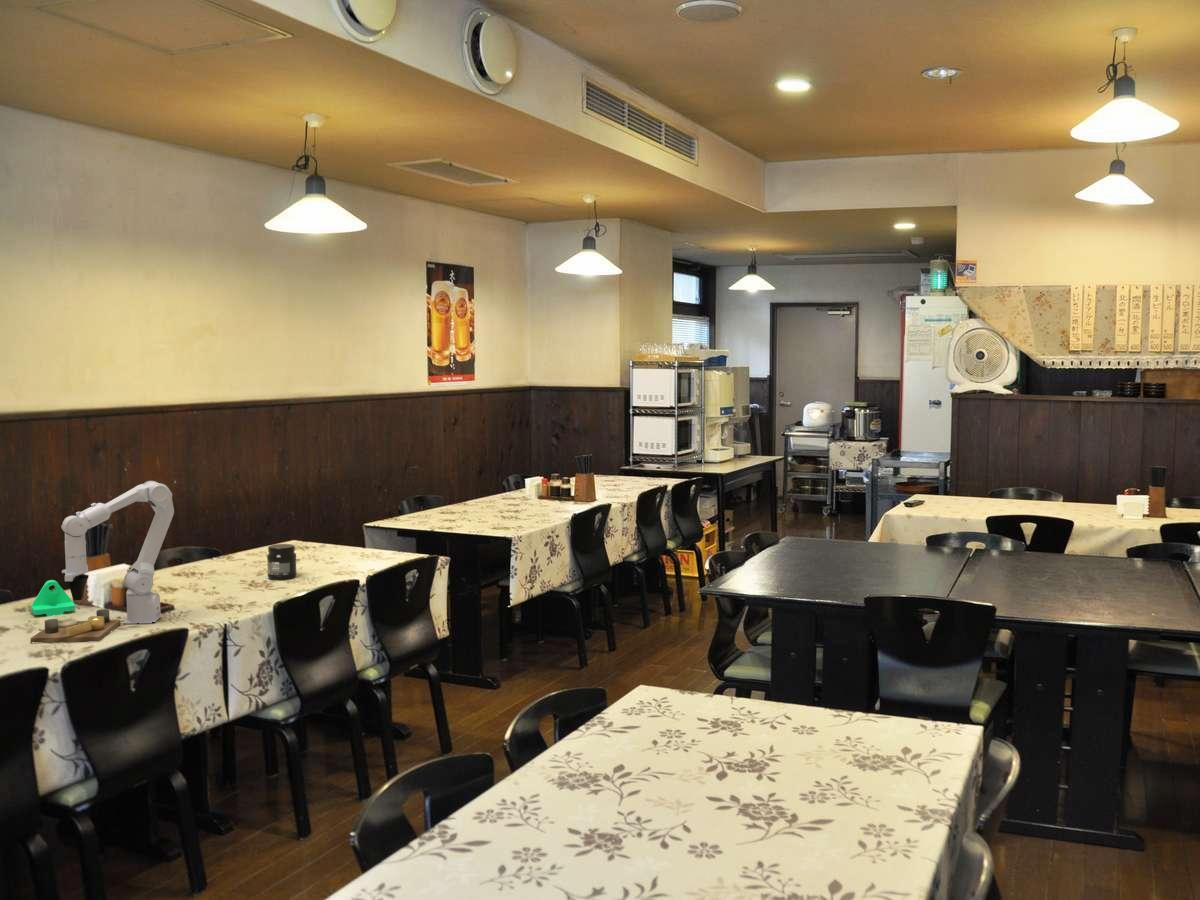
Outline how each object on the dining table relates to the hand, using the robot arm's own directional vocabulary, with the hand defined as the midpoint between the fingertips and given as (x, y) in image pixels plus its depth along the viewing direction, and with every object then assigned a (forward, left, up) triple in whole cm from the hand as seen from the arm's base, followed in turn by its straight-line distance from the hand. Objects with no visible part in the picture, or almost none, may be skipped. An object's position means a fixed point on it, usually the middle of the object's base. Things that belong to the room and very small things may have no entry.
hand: (77, 599), depth 328 cm
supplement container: (-48, -71, -10) cm, 86 cm away
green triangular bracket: (+16, -23, -10) cm, 29 cm away
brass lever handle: (-5, +9, -7) cm, 13 cm away
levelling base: (-1, +4, -9) cm, 10 cm away
